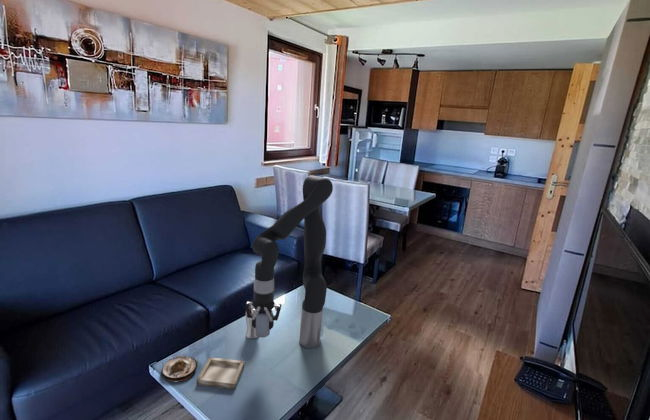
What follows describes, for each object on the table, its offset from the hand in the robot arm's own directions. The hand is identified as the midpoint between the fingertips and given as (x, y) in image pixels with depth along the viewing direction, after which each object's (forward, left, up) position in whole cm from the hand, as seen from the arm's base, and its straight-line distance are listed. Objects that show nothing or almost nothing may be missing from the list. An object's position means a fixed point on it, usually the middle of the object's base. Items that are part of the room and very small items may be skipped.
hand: (262, 327), depth 129 cm
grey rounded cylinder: (0, 0, -3) cm, 3 cm away
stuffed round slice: (+29, +8, -18) cm, 35 cm away
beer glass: (+8, -18, -17) cm, 26 cm away
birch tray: (+13, +8, -17) cm, 23 cm away
